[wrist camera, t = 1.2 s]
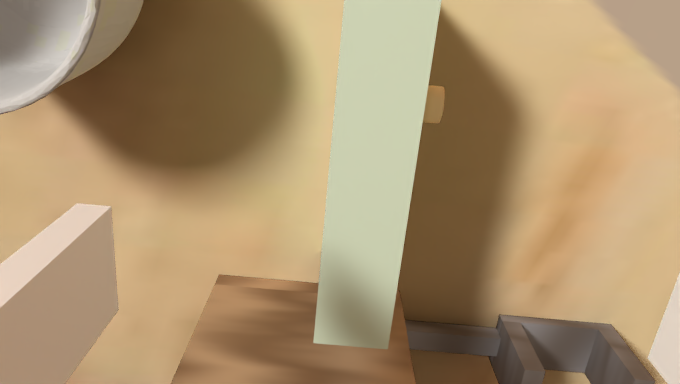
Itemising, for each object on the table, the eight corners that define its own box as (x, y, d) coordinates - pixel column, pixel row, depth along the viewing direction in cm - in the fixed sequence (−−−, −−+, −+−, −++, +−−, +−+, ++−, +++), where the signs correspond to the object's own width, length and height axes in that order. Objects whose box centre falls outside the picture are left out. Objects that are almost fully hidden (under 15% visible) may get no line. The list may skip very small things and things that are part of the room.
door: (321, 250, 29) (313, 343, 21) (347, -30, 23) (347, -37, 16) (395, 256, 29) (412, 351, 21) (436, -20, 24) (477, -23, 16)
